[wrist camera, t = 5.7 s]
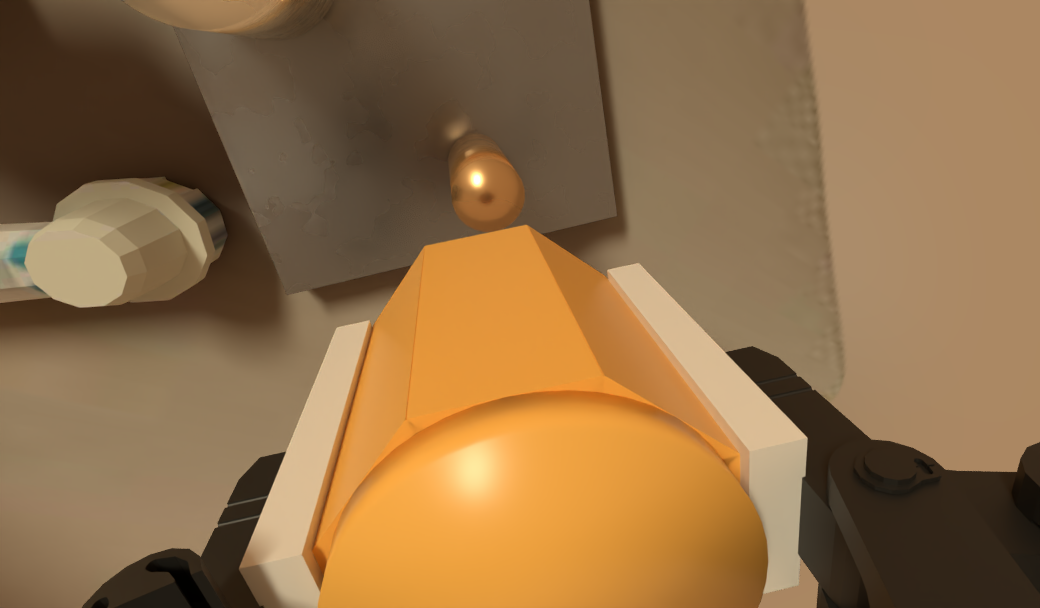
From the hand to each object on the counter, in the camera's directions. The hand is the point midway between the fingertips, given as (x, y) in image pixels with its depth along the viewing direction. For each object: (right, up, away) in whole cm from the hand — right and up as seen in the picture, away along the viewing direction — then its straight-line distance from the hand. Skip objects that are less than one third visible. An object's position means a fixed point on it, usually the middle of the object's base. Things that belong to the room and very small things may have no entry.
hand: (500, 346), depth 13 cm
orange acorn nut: (0, 0, 0) cm, 0 cm away
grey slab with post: (-5, +11, +11) cm, 16 cm away
